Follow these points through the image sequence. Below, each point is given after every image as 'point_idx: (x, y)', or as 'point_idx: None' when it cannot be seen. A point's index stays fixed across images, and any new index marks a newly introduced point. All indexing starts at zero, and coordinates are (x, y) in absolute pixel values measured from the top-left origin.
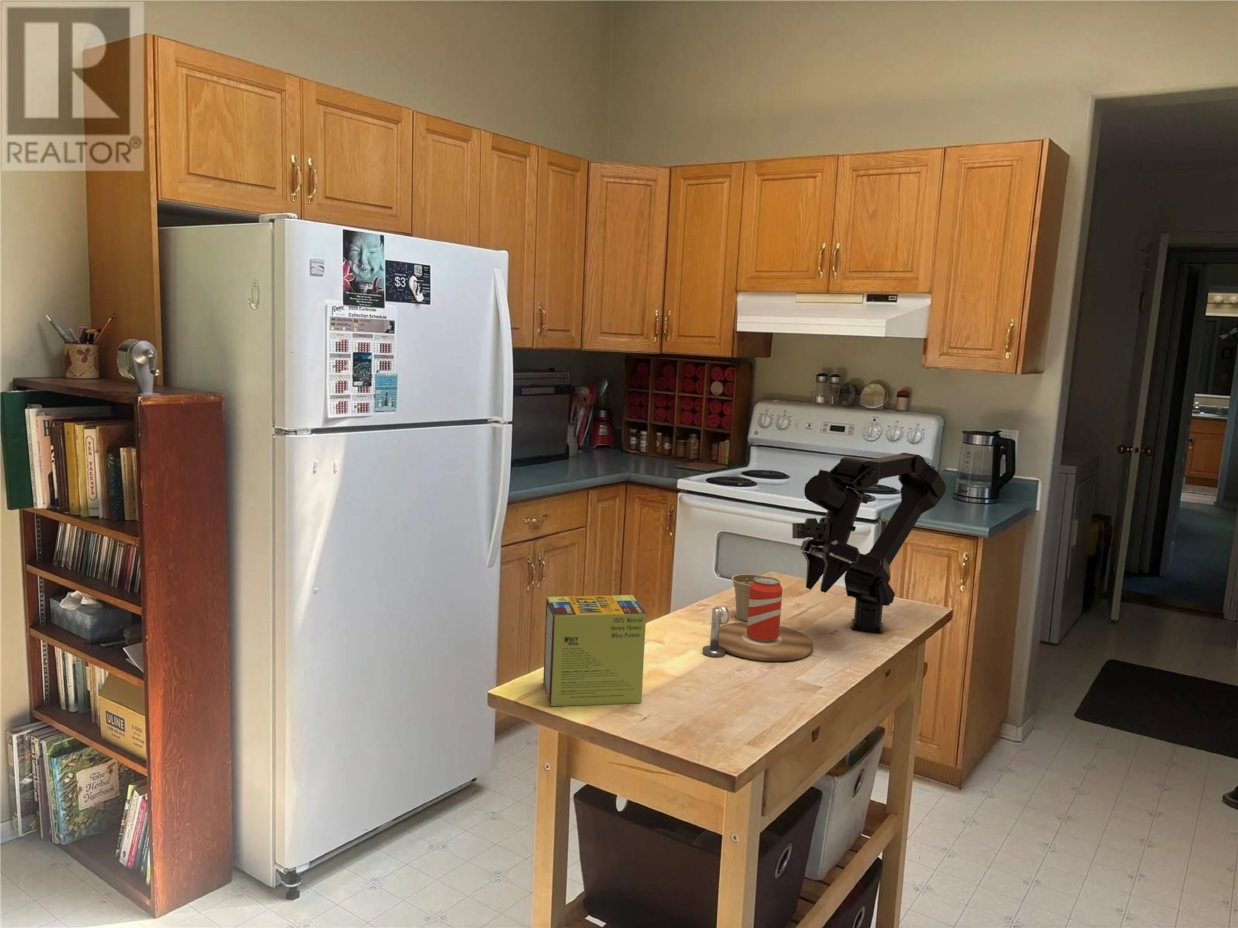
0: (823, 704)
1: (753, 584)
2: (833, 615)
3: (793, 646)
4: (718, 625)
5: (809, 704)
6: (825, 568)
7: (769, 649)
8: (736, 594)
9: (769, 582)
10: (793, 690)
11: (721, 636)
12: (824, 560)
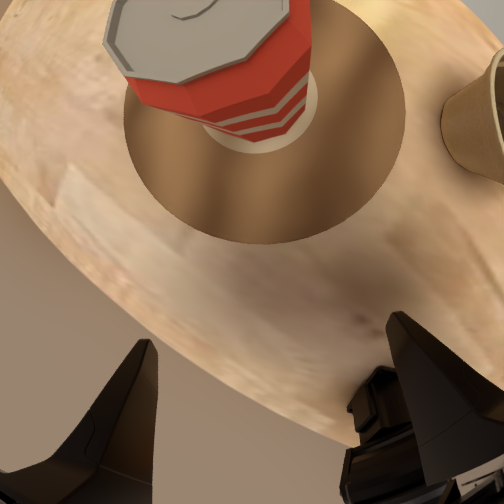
0: (17, 197)
1: None
2: (464, 347)
3: (196, 177)
4: None
5: (15, 177)
6: (81, 440)
7: None
8: (495, 72)
9: (171, 20)
10: (38, 156)
11: None
12: (64, 480)
